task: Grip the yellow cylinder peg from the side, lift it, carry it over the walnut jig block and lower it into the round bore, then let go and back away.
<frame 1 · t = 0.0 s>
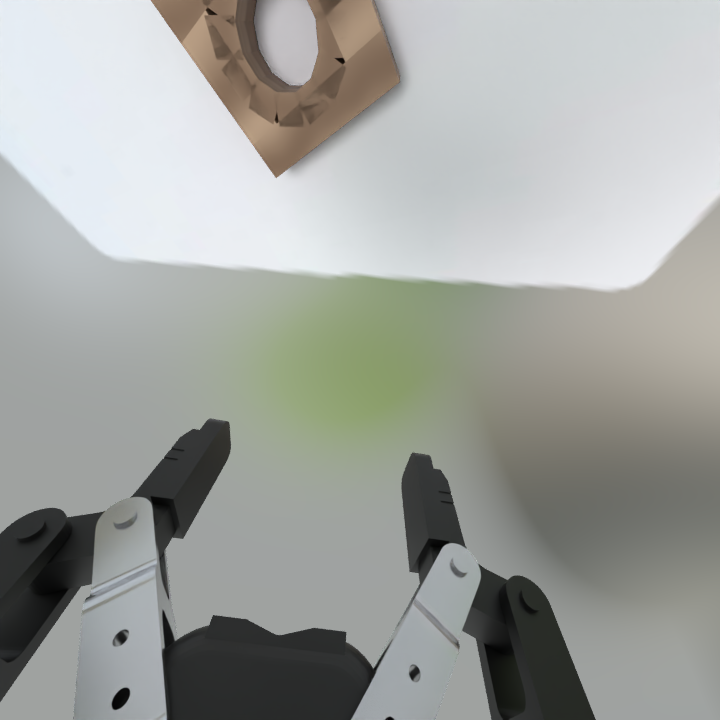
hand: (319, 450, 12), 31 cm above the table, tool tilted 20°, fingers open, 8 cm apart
jig: (291, 35, 24), on the table
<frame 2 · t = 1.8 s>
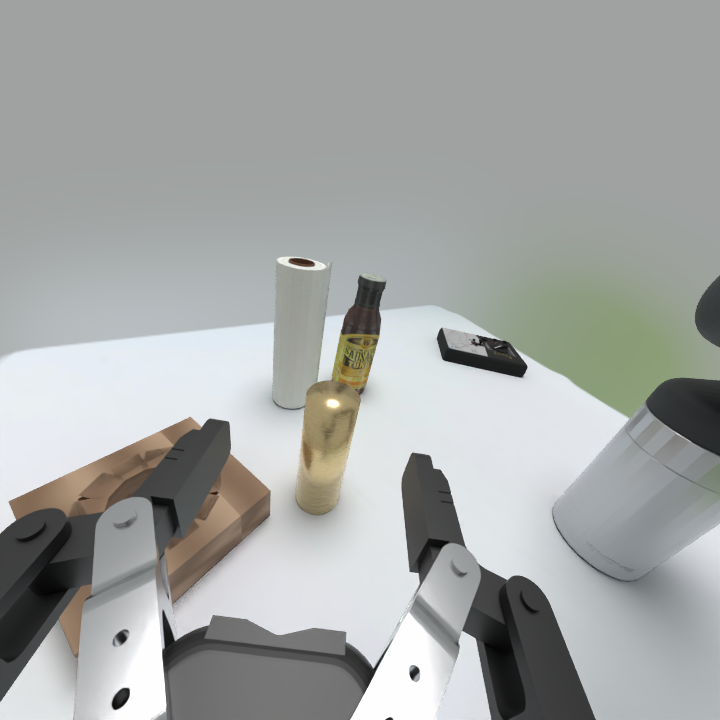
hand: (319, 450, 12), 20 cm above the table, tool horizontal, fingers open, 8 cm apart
yellow cylinder peg: (317, 493, 32), on the table
paper towel roll: (295, 398, 45), on the table
sauce bottle: (348, 387, 50), on the table
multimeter: (475, 358, 72), on the table
jig: (160, 521, 26), on the table
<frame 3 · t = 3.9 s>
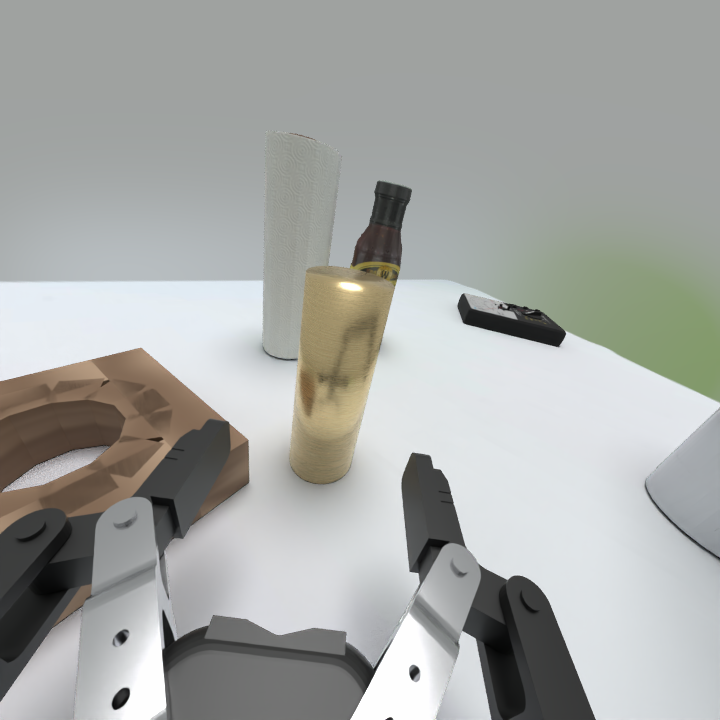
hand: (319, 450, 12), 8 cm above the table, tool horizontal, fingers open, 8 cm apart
yellow cylinder peg: (320, 456, 22), on the table
paper towel roll: (292, 349, 36), on the table
sauce bottle: (358, 343, 41), on the table
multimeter: (501, 326, 62), on the table
jig: (72, 486, 17), on the table
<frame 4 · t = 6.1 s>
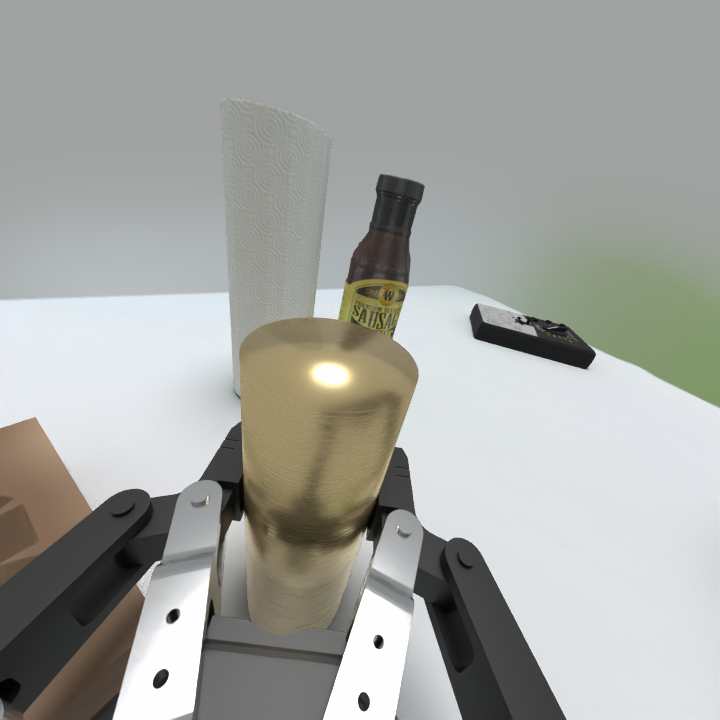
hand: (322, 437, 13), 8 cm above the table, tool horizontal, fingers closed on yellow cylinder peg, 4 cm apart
yellow cylinder peg: (296, 584, 15), on the table, touching gripper
paper towel roll: (272, 388, 28), on the table
sauce bottle: (355, 374, 33), on the table
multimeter: (519, 342, 55), on the table
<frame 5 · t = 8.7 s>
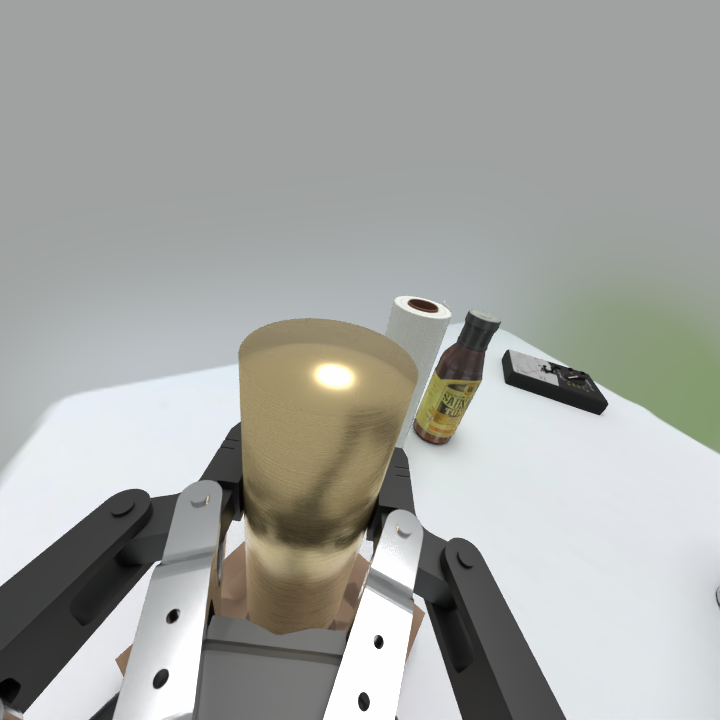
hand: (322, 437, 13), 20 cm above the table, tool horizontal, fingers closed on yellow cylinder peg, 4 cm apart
yellow cylinder peg: (296, 585, 15), point 12 cm above the table, touching gripper
paper towel roll: (382, 449, 40), on the table
sauce bottle: (432, 431, 45), on the table
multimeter: (543, 386, 66), on the table
jig: (286, 652, 21), on the table
when the fingers open (10 cm above the table, at t = 11.5 s): yellow cylinder peg drops 2 cm, resting in jig.
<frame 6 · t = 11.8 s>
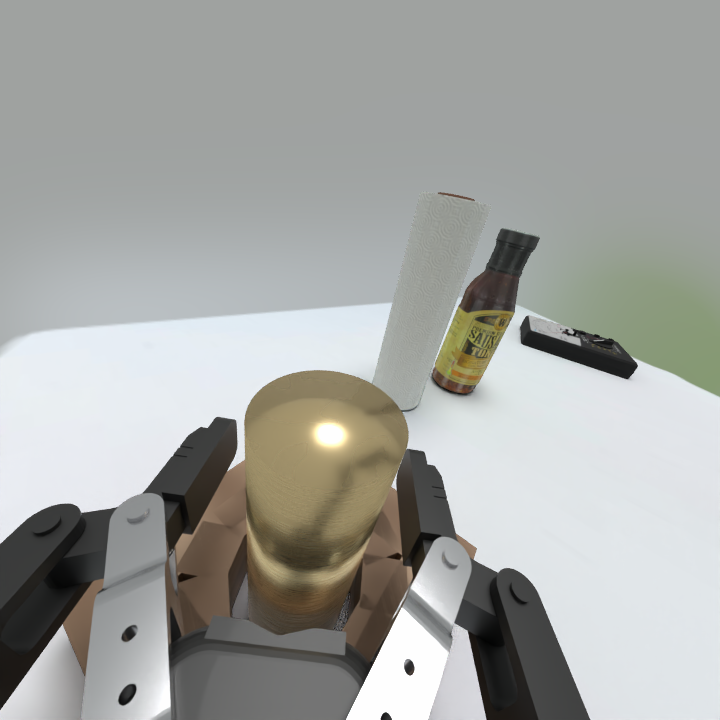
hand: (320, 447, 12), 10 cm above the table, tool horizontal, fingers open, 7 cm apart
yellow cylinder peg: (295, 603, 15), resting in jig
paper towel roll: (398, 396, 35), on the table
sauce bottle: (452, 383, 40), on the table
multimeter: (565, 352, 61), on the table
jig: (293, 601, 16), on the table
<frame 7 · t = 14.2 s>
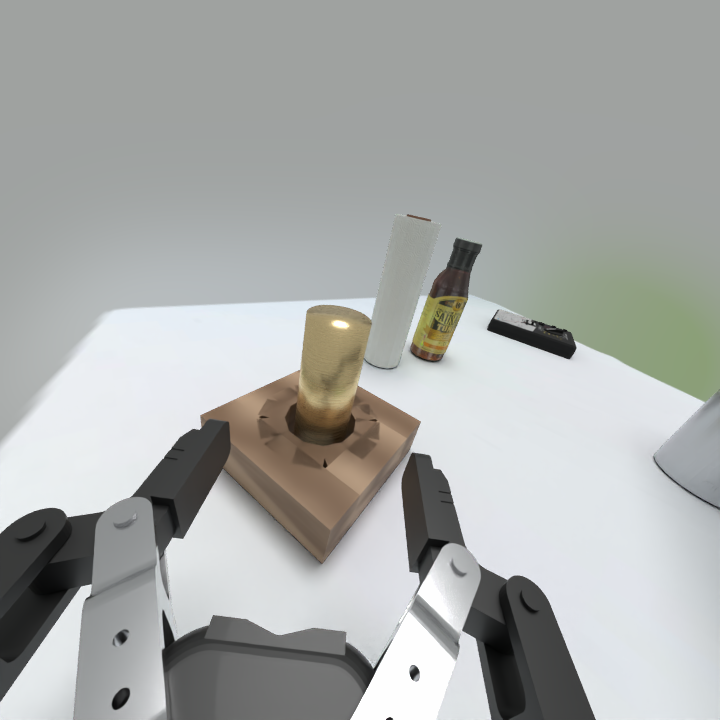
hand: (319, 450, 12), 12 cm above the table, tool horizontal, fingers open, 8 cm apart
yellow cylinder peg: (316, 451, 27), resting in jig
paper towel roll: (383, 360, 46), on the table
sauce bottle: (426, 355, 52), on the table
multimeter: (525, 339, 74), on the table
jig: (316, 449, 27), on the table
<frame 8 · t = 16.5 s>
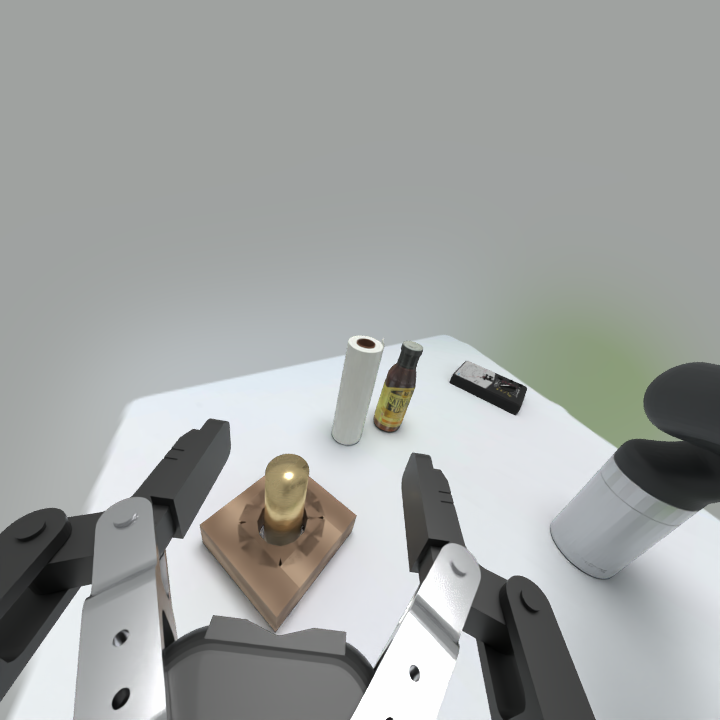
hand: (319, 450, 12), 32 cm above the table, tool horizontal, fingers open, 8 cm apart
yellow cylinder peg: (282, 537, 39), resting in jig
paper towel roll: (348, 435, 58), on the table
sauce bottle: (386, 423, 63), on the table
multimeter: (485, 391, 84), on the table
jig: (281, 536, 39), on the table
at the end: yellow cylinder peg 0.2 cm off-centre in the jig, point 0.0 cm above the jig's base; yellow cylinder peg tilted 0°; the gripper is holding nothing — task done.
